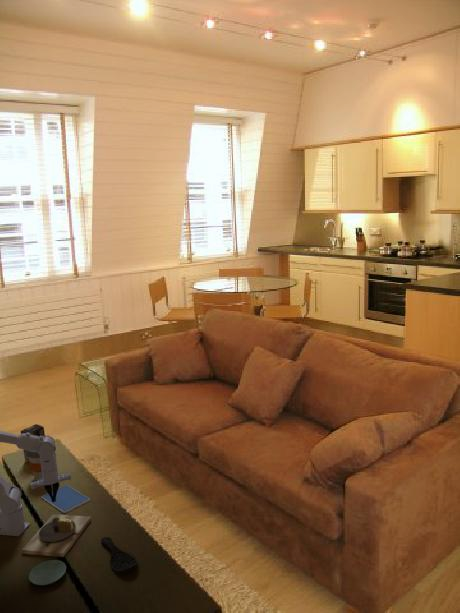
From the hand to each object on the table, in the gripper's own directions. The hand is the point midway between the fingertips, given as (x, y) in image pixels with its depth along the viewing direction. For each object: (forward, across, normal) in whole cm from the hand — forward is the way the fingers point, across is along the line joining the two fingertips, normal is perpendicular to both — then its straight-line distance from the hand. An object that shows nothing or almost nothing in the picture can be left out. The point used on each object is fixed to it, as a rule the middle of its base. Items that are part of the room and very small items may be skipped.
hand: (53, 500), depth 208 cm
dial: (+8, 0, +9) cm, 12 cm away
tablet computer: (+10, -5, -16) cm, 20 cm away
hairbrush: (+10, -17, +31) cm, 37 cm away
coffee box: (+10, +3, -61) cm, 62 cm away
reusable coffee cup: (+10, +1, -41) cm, 42 cm away
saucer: (+10, +6, +31) cm, 33 cm away
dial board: (+9, 0, +9) cm, 13 cm away
